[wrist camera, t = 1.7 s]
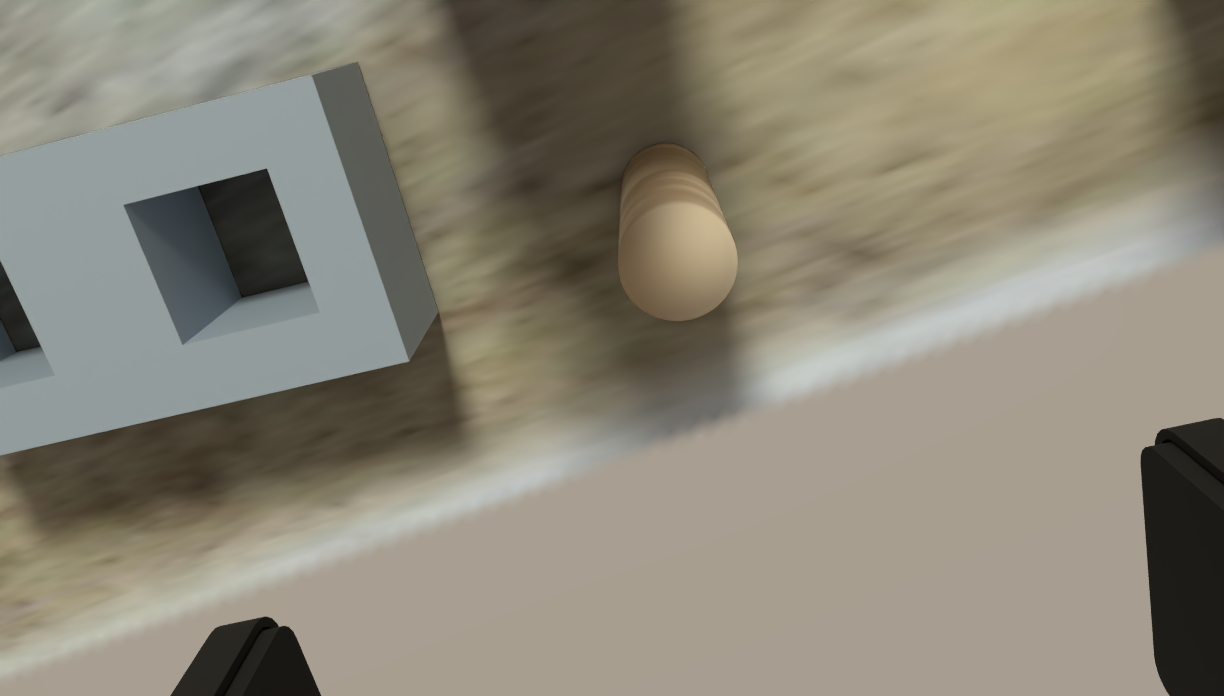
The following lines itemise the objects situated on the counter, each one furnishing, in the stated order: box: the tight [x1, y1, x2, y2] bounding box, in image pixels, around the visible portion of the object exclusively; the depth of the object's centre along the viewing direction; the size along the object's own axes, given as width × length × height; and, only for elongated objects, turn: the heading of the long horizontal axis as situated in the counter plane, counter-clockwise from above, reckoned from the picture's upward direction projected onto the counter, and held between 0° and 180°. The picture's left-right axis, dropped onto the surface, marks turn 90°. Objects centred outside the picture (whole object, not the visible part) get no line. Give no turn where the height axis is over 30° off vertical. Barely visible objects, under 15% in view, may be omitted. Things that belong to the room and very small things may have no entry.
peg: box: [618, 143, 738, 321], centre depth 29 cm, size 3×3×10 cm
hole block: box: [0, 62, 438, 455], centre depth 33 cm, size 18×9×5 cm, turn 104°
